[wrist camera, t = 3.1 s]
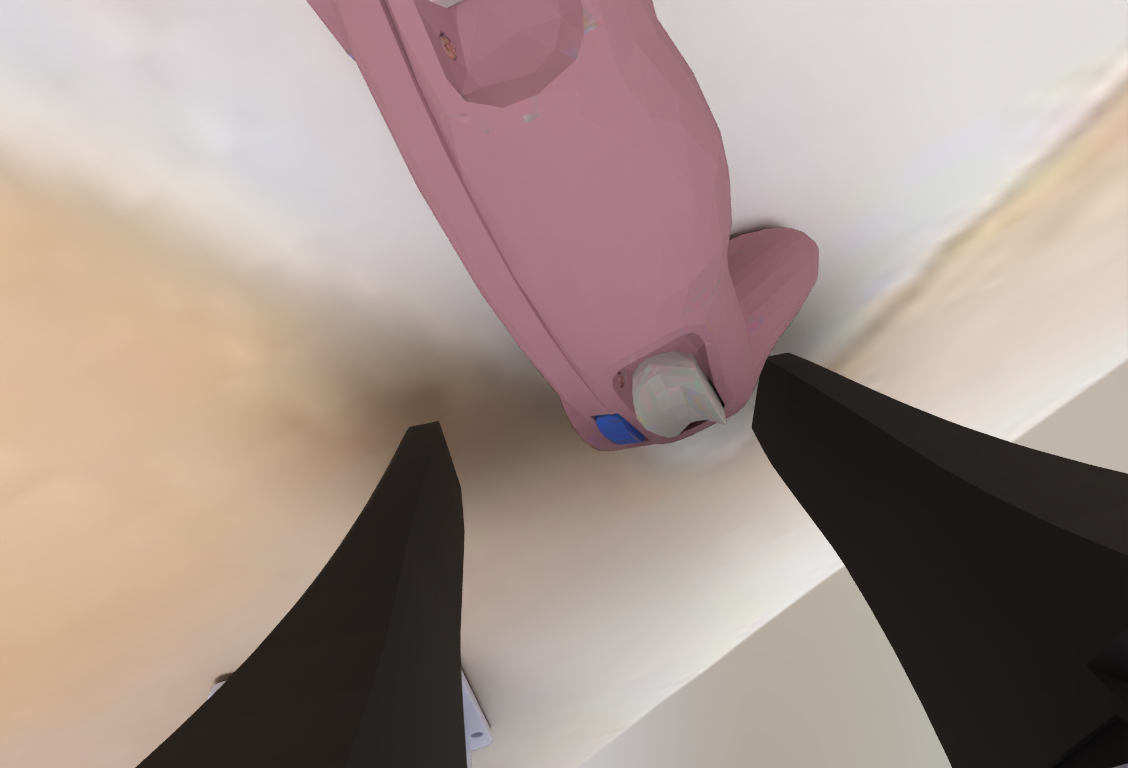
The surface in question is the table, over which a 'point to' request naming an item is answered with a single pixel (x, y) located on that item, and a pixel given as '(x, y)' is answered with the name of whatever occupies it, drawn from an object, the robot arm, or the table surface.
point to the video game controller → (585, 201)
